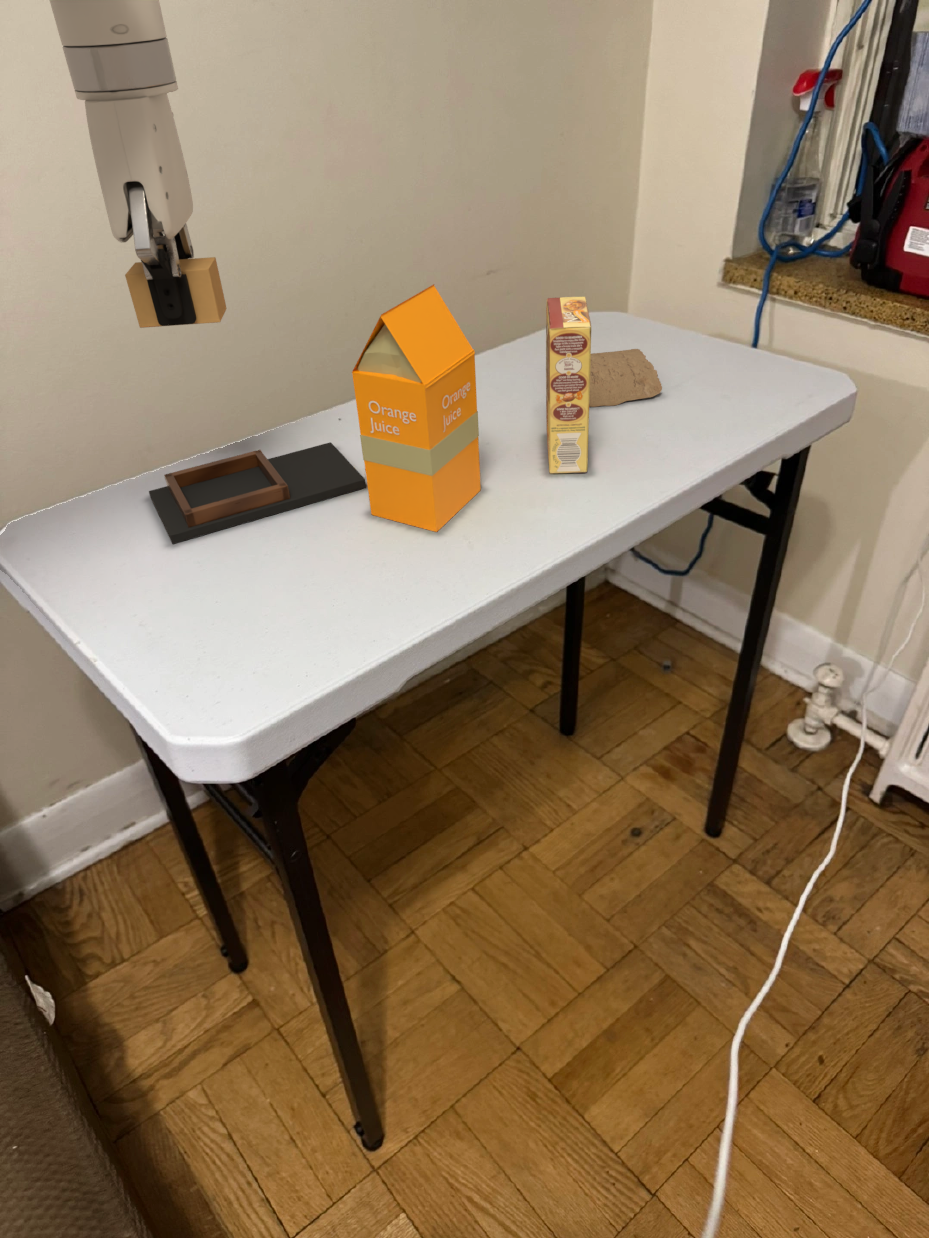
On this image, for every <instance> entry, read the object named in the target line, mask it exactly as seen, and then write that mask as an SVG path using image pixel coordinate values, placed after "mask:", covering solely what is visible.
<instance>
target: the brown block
mask: <svg viewBox="0 0 929 1238" xmlns="http://www.w3.org/2000/svg"><path fill="white" fill-rule="evenodd" d="M179 262H180V267H181V273H182V274H186V276H187V280H188V284H189V288H190V292H191V297H192V301H193V305H194V309H195V313H196V318H197V319H196V321H195V323H194V324H193V325H200V324H214V323H217V324H218V323H221V321H222V320H223V318H224V316H225V313H226V311H227V304H226V299H225V294H224V290H223V285H222V281H221V276H220V272H219V267H218V262H217V257H216V256H212V257H209V256H208V257H198V258H195V257H194V258H191V259H180V260H179ZM124 276H125V280H126V283H127V287H128V291H129V293H130V294H129V295H130V297H131V301H132V305H133V309H134V312H135V316H136V319H137V323H138V326H139V328H140V329H142V328H143V329H145V328H158V327H162V326H161V325H160V324H159V323H158V320H157V316H156V312H155V309H154V305H153V301H152V297H151V294H150V290H149V286H148V282H147V279H146V277H145V273H144V269H143V264H142V262H141V261H139V262H134V263H133V265H131V267H130V268H129V269H128V271H126V273H125V274H124ZM186 325H189V324H186ZM186 325H185V326H186ZM172 326H175V325H172ZM172 326H171V327H172Z"/></svg>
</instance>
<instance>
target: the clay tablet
mask: <svg viewBox="0 0 929 1238" xmlns="http://www.w3.org/2000/svg"><path fill="white" fill-rule="evenodd" d="M658 376H659V374H658V371H657V370H656V369H655V366H654V365H653V363H652V362H651V361H649V360H648V359H647V356H646V355H645V354H644V352H643V351H642V350H641V349H639V348H631V349H623V350H615V351H606V352H605V351H604V352H596V353H595V352H594V353H591V361H590V396H589V408H590V407H591V408H596V407H602V406H606V407H608V406H609V407H611V406H612V407H613V406H614V407H615V406H618V405H621V404H623V403H624V402H628V401H635V400H636V401H637V400H641V399H649V398H653V397H655V396H657V395H660V393H661V392H662V390H663V386H662V383H661V381H660V378H659V377H658Z"/></svg>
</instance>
